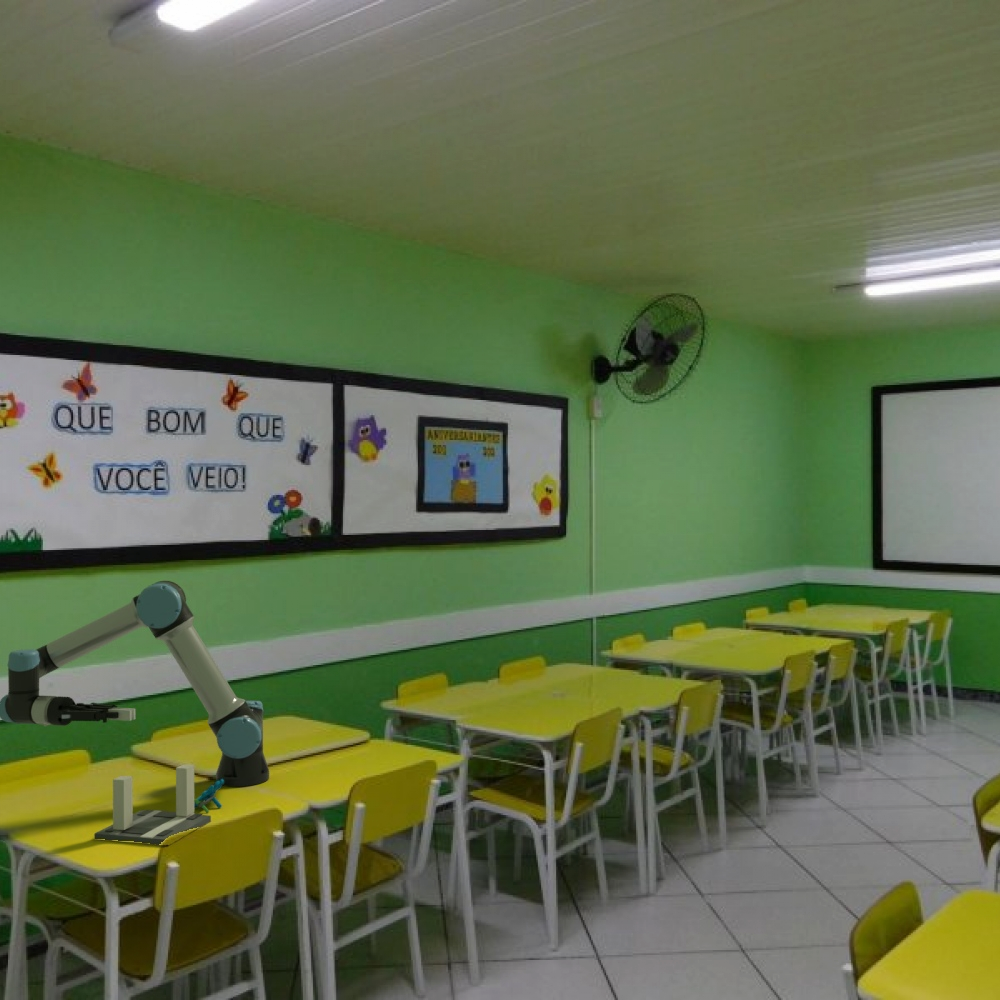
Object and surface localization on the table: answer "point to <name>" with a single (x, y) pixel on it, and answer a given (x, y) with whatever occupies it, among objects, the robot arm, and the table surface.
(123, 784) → the tab
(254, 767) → the robot arm
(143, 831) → the two post plate
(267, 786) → the table surface
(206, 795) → the blue green branched piece
